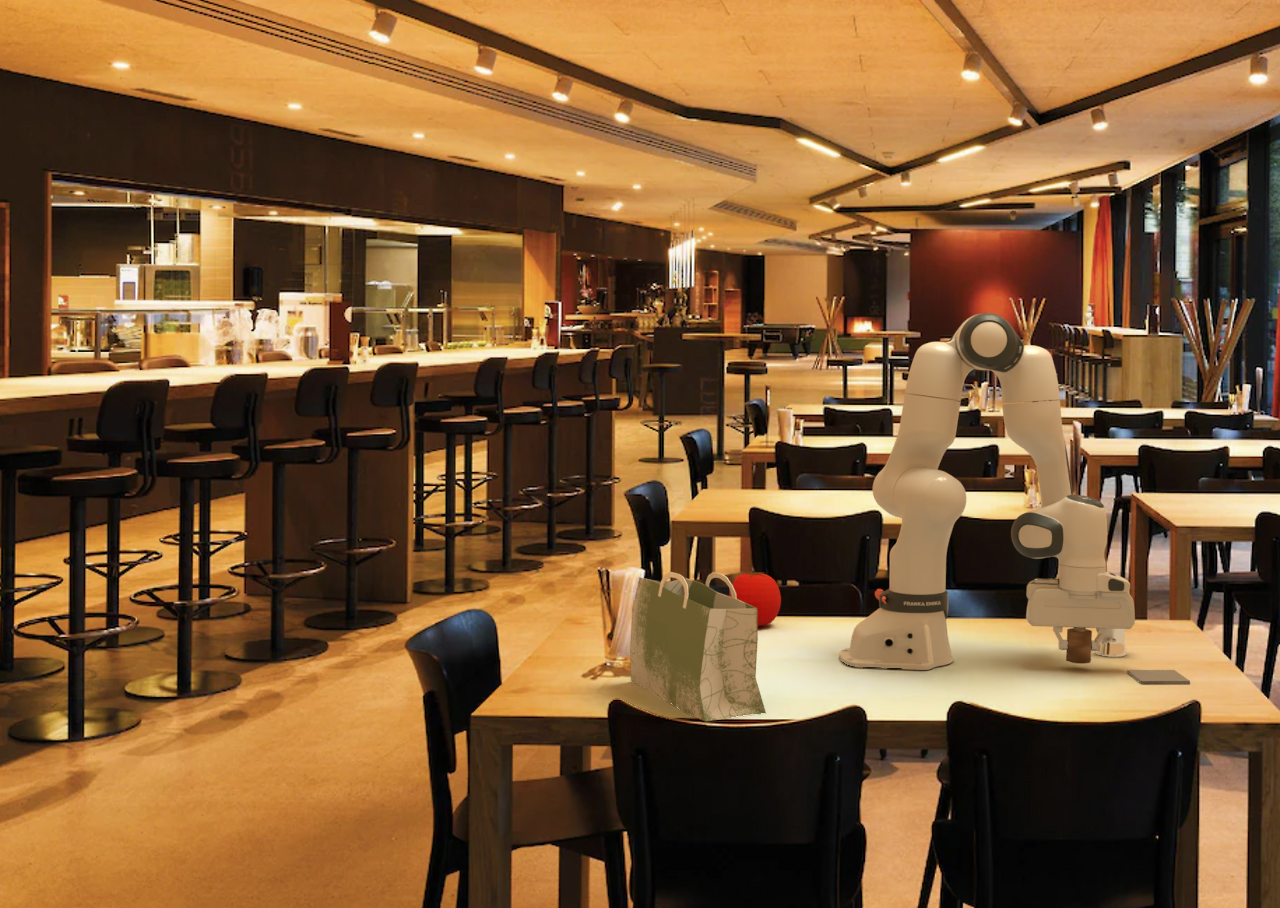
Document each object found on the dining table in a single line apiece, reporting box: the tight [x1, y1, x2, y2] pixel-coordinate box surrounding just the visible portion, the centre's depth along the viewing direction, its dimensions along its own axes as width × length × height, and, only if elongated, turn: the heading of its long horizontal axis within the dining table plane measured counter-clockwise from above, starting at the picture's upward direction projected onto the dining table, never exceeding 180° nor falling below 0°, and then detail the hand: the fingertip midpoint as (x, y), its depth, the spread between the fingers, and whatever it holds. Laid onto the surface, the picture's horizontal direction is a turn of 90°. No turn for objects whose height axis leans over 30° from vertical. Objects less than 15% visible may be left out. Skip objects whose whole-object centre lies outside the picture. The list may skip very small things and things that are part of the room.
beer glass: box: [1094, 590, 1131, 658], centre depth 306 cm, size 7×7×15 cm
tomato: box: [728, 569, 782, 627], centre depth 337 cm, size 12×12×13 cm
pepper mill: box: [1065, 627, 1093, 665], centre depth 293 cm, size 5×5×7 cm
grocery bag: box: [629, 571, 767, 722], centre depth 274 cm, size 32×14×23 cm, turn 24°
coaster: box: [1126, 669, 1191, 685], centre depth 286 cm, size 9×9×1 cm
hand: (1078, 649), depth 294 cm, fingers closed on pepper mill, 5 cm apart
